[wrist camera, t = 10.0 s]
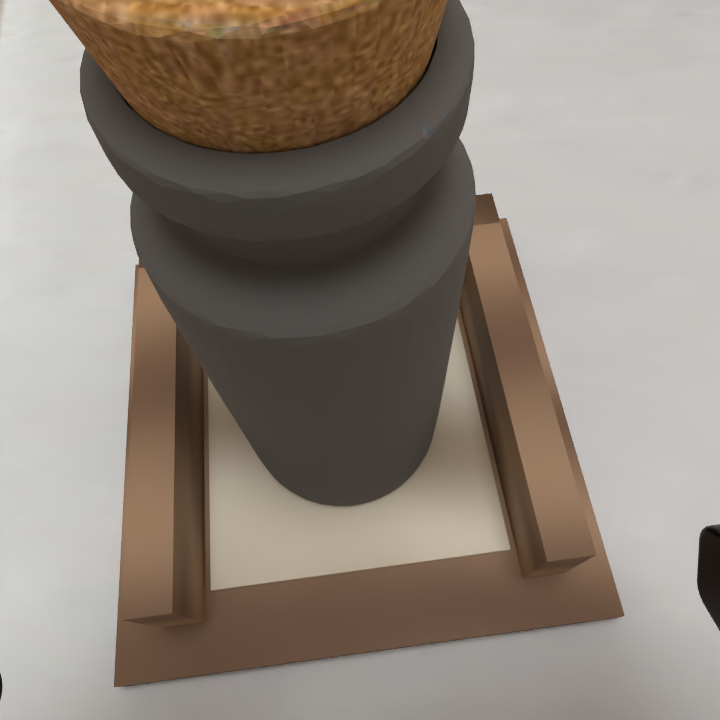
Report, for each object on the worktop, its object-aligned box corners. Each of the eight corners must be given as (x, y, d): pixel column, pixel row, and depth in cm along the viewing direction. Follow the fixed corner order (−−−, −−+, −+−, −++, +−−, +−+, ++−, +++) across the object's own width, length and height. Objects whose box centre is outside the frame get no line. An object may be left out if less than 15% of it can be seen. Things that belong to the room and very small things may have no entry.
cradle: (617, 617, 17) (668, 605, 14) (122, 686, 17) (61, 689, 14) (503, 228, 24) (521, 159, 21) (141, 274, 23) (102, 211, 20)
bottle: (218, 463, 19) (-181, -20, 6) (303, 313, 21) (158, -280, 8) (392, 540, 18) (401, 154, 4) (462, 372, 20) (607, -215, 7)
